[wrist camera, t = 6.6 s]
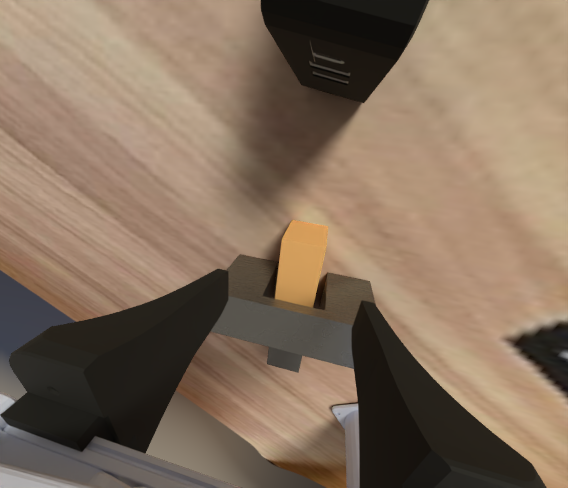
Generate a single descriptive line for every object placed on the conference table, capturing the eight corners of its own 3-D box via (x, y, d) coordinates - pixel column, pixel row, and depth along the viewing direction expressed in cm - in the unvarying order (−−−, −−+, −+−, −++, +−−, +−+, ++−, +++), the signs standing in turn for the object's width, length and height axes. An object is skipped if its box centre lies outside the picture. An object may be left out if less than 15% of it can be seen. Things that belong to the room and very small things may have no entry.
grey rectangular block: (357, 315, 21) (365, 371, 16) (238, 288, 23) (210, 331, 18) (369, 281, 19) (382, 332, 14) (239, 254, 21) (209, 291, 16)
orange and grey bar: (303, 338, 24) (298, 372, 20) (276, 331, 24) (266, 364, 21) (328, 226, 18) (326, 247, 15) (292, 219, 19) (282, 238, 15)
